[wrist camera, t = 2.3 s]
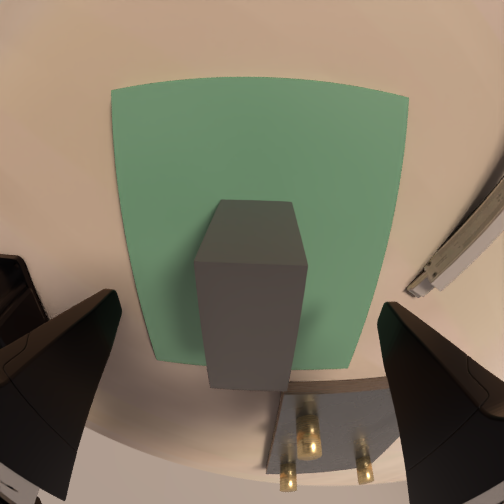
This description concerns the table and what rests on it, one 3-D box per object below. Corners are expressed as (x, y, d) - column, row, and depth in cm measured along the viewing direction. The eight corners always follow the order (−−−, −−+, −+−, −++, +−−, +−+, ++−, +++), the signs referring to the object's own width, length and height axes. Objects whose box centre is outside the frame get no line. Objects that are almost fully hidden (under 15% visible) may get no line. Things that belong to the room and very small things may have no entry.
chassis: (266, 466, 25) (265, 496, 21) (283, 381, 16) (285, 437, 13) (367, 459, 25) (371, 486, 21) (442, 368, 16) (461, 410, 12)
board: (162, 345, 16) (135, 424, 11) (125, 90, 9) (30, 93, 4) (344, 353, 16) (362, 435, 11) (395, 97, 9) (487, 103, 4)
